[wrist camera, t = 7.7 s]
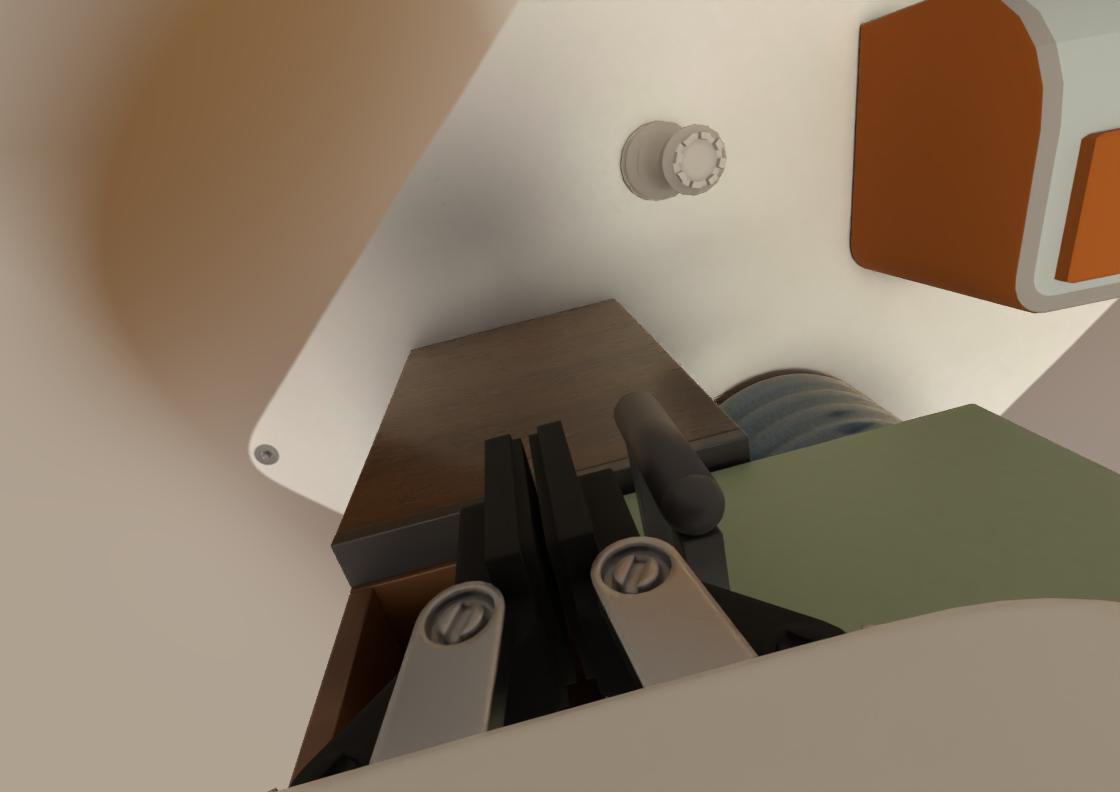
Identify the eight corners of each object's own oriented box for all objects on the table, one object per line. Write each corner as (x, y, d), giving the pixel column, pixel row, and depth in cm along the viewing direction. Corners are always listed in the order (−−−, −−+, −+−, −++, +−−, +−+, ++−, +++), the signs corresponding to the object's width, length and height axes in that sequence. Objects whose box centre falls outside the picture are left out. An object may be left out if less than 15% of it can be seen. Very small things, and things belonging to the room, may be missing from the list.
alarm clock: (963, 251, 39) (1189, 291, 26) (847, 274, 38) (1022, 326, 26) (995, 0, 33) (1305, -101, 20) (859, 24, 32) (1091, -65, 20)
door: (528, 380, 16) (583, 653, 7) (985, 263, 16) (1591, 380, 7) (568, 527, 18) (648, 880, 9) (971, 420, 19) (1427, 658, 10)
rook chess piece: (700, 177, 35) (758, 181, 27) (637, 213, 35) (677, 226, 28) (673, 106, 33) (726, 89, 26) (606, 145, 33) (640, 139, 26)
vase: (776, 577, 48) (1212, 1192, 19) (631, 497, 43) (929, 1169, 14) (912, 433, 44) (1721, 941, 15) (770, 326, 39) (1582, 782, 10)
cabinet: (410, 350, 37) (146, 990, 8) (614, 298, 37) (1044, 737, 8) (458, 484, 41) (394, 1210, 12) (640, 437, 41) (983, 1037, 13)
